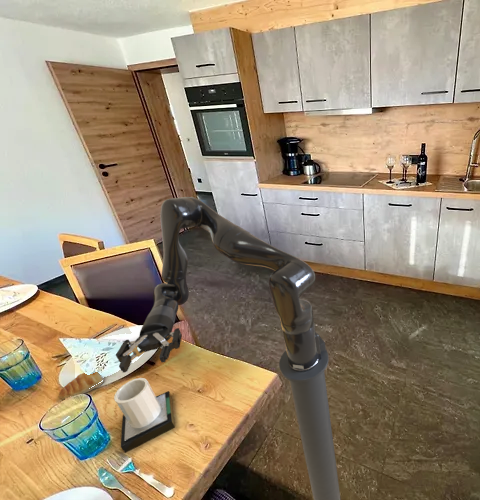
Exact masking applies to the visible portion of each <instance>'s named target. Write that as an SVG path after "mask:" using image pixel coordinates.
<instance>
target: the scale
mask: <svg viewBox="0 0 480 500" xmlns="http://www.w3.org/2000/svg"><path fill="white" fill-rule="evenodd" d="M155 396H156V398H157V399H158V401H159V403H160V406H161V411H160V414H159V415H158V417H157V418H156V419H155V420H154V421H153V422H151V423H150V424H148V425H147V426H144V427H142V428H133V427H131V425H130V424H129V422H128V421H127V419H126V418H125V416H124V415H123V414H122V418H121V419H122V421H121V422H122V423H121V435H120V448H121V449H122V451H123V452H124V454H126V453H128V452H130V451H132V450H134V449H135V448H138V447H140V446H141V445H142V446H143V444H146V443H148V442H150V441H151V440H153V439H155V438H157V437H159V436H161V435H163V434H165V433H167V432H169V431H171V430H173V429H175V428H176V424H175V423H176V422H175V415H174V404H173V396H172V394H171V392H170V391H169V390H168V391H167V390H166V391H165V392H163V393H161V394H159V395H155Z"/></svg>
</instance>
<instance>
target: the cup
mask: <svg viewBox="0 0 480 500" xmlns="http://www.w3.org/2000/svg"><path fill="white" fill-rule="evenodd" d="M156 396H157V395H156V393H155V391H154V389H153V388H152V386H151V384H150V382H149V381H148V379H146V378H145V377H137V378H133V379H131V380H129V381H127V382H125V383H124V384H122V385H121V386H119V388H118V389H117V390H116V391H115V394H114V396H113V400H114V402H115V403H116V405H117V407H118V408H119V410H120V412H121V413H122V416H123V415H124V416H125V418H126V419H127V421H128V422H129V424H130V425H131V427H133V428H142V427H144V426H147V425H148V424H150V423H151V422H153V421H154V420H155V419H156V418H157V417H158V415H159V414H160V411H161V406H160V403H159V401H158V399H157V398H156Z"/></svg>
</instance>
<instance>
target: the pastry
mask: <svg viewBox="0 0 480 500" xmlns="http://www.w3.org/2000/svg"><path fill="white" fill-rule="evenodd" d="M102 380H103V382H101V381H102ZM99 382H101V383H99ZM98 383H99V384H98ZM104 383H105V379H104V377H103V376H102V375H100V374H99V373H98V372H95V373H93V374H90V375H87V374H85V373H84V372H83V373H80V374H78V375H77V376H76V377H75V378H74V379H72V380H71V381H69V382H68V383H67V384H65V385H64V387H62V388H61V389H60V390H59V393H58V398H59V399H61V400H65V398H68V397H70V396H74V395H77V394H82V395H84V394H86V393H89V392H90V391H92V390H94V389H97V388H99V387H100V386H101V385H103V384H104ZM96 384H97V385H96ZM94 385H95V386H94ZM92 386H94V387H92ZM91 387H92V388H91ZM89 388H90V389H89Z"/></svg>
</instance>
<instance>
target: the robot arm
mask: <svg viewBox="0 0 480 500" xmlns="http://www.w3.org/2000/svg"><path fill="white" fill-rule="evenodd" d="M160 227H161V239H162V250H163V257H162V259H163V260H162V267H161V268H162V269H161V280H162V281H163V283H159V284H157V285H156V286H155V287H154V289H153V293H152V299H153V304H152V305H153V306H152V308H151V310H150V311H149V313H148V314H147V316H146V318H145V320H144V322H143V324H142V326H141V329H140V331H139V334H138V335H139V336H138V337H137V338H136V339H135V340H132V341H130V340H129V339H124V341H123V342H122V344H121V346H120V347H119V349H118V350H117V352H116V354H115V356H116V358H117V360H118V362H119V365H118V367H119V369H120V371H121V372H122V373H128V371H129V369H130V366H131V364H132V362H133V360H134V359H136V358H137V357H138V358H139V357H141V356H142V355H143V354H144V353H146V352H150V351H155V350H158V349H159V348H160V353H159V356H158V359H159V361H160V363H161V364H163V363H166V361H167V360H168V359H169V357H170V354H171V352H172V351H173V350H174V349H175V350H176V349H177V350H178V349H180V347H181V342H182V336H183V335H182V332H181V330H180V328H178V327H177V328H175V329H174V326H175V323H176V317H177V314H178V311H179V306H182V305H185V303H187V302H188V299H189V296H190V292H189V287H188V283H187V270H188V265H189V264H188V263H189V258H188V255H187V253H186V251H185V249H184V248H183V246H182V245H181V242H180V240H179V237H180V232H181V230H183V229H188V228H193V227H194V228H195V227H197V228H200V229H202V230H204V231H206V232H207V233H208V234H209V235H210V238H211V241H212V244H213V247H214V248H215V249H216V250H217V252H218V253H220V254H221V255H223V256H225V257H226V258H227V259H228V260H231V261H233V262H235V263H237V264H241V265H246V266H254V267H255V266H256V267H263V268H267V269H270V270H272V271H273V272H272V273H270V275H269V277H268V287H269V292H270V296H271V299H272V302H273V306H274V309H275V311H276V314H277V315H278V317H279V321H280V326H281V330H282V335H283V341H284V346H285V351H287V356H288V363H289V366H290V367H291V369H293V370H295V371H298V372H304V371H308V370H310V369H312V368H313V367H315V366H316V365H317V363H318V361H319V360H321V359H322V358H321V352H322V351H324V350H327V349H326V342H325V341H324V339H323V338H321V336H320V335H319V333H317V332H316V326H315V325H316V324H315V319H314V318H315V317H314V312H313V305H312V304H311V302H310V301H308V300H307V299H304V298H300V297H301V296H302V295H304V293H306V292H307V291H309V289H310V288H311V287H312V286H313V285H314V284H315V282H316V274H315V271H314V270H313V268H312V267H311V266H310V265H309V264H308V263H307V262H305V261H304V260H302V259H300V258H299V257H296V256H294V255H292V254H290V253H287V252H285V251H283V250H281V249H280V248H277V247H275V246H273V245H271V244H269V243H268V242H266V241H264V240H262V239H260V238H259V237H257V236H256V235H254V234H252V233H251V232H249V231H248V230H246V229H244V228H243V227H241V226H239V225H237V224H235V223H233V222H232V221H230V220H228V219H227V218H225V217H224V216H222V215H221V214H219V213H218V212H216V210H213V208H211V207H210V206H209V205H207V204H206V203H205V202H203V201H202V200H200V199H199V198H197V197H193V196H183V197H172V198H167V199H165V200H164V201H163V202H162V204H161V207H160ZM173 329H174V331H173ZM171 338H172V339H171ZM170 339H171V342H169V340H170Z"/></svg>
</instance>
